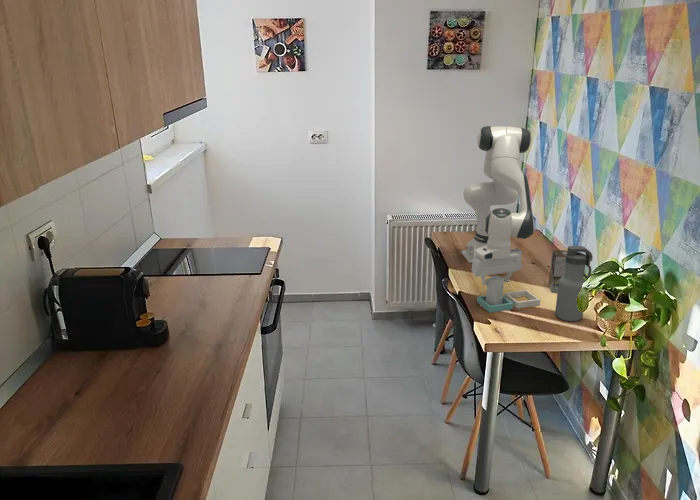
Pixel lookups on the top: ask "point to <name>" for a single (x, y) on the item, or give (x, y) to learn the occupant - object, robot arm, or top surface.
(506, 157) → the robot arm
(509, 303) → the shallow square trays
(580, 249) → the water bottle
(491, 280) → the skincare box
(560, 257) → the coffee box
